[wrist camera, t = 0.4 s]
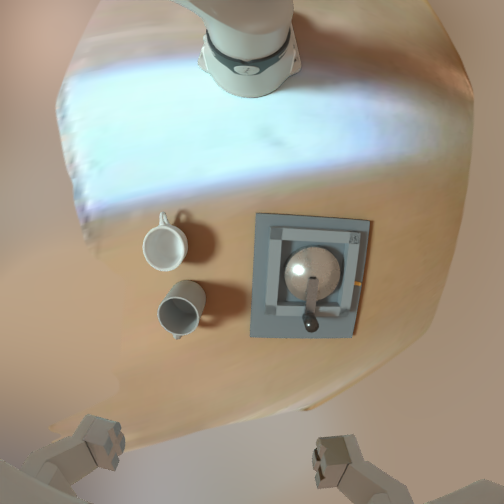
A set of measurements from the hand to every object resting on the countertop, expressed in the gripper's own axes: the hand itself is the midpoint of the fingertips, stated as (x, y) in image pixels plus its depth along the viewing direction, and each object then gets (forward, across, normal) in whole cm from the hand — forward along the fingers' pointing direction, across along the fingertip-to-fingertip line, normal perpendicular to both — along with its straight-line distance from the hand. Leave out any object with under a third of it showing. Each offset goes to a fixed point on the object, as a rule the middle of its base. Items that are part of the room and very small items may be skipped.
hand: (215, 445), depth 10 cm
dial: (+44, -12, +7) cm, 46 cm away
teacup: (+45, +14, 0) cm, 47 cm away
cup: (+45, +11, +13) cm, 48 cm away
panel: (+45, -12, +7) cm, 47 cm away
